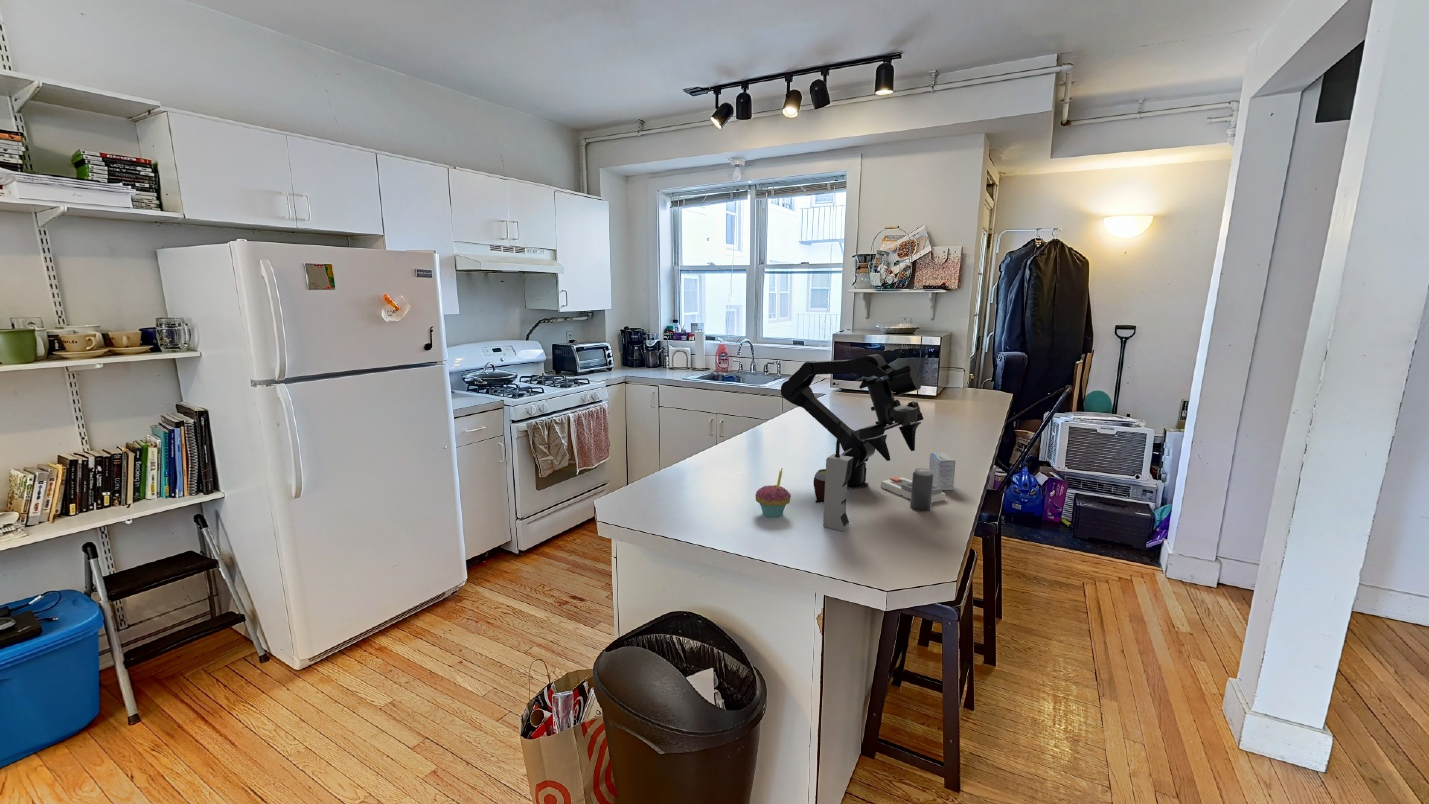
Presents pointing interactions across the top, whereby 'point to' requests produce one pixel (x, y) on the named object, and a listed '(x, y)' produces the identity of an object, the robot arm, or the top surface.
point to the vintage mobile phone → (836, 488)
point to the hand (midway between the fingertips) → (901, 455)
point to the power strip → (909, 488)
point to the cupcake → (773, 499)
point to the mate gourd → (821, 483)
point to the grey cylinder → (921, 490)
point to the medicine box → (942, 470)
